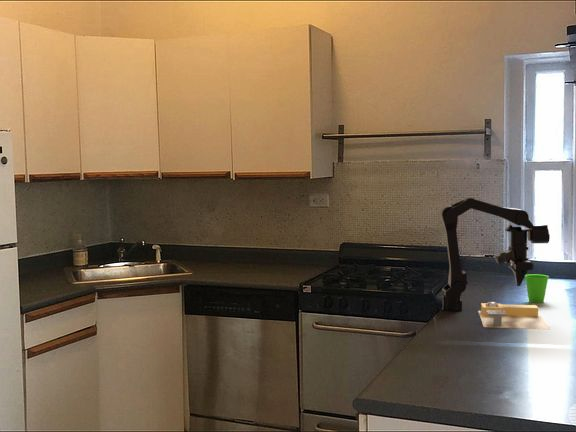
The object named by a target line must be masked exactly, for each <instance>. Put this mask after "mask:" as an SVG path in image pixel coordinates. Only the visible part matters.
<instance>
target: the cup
mask: <svg viewBox="0 0 576 432" xmlns="http://www.w3.org/2000/svg"><path fill="white" fill-rule="evenodd" d="M524 278H525V285H526V290H527V297H528V303H535V304H541V303H544V302H545V298H546V297H545V296H546V290H547V285H548V281H549V278H550V276H549V275H547V274H546V275H545V274H539V273H537V274H536V273H534V274H532V273H531V274H529V273H528V274H526V275H525V277H524Z"/></svg>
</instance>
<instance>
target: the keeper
mask: <svg viewBox="0 0 576 432" xmlns="http://www.w3.org/2000/svg"><path fill="white" fill-rule="evenodd" d="M486 312H487V315H488V316H493V326H496V327H501V323H502V317H501V316H507V314H506V312H505V311H500V310H486Z"/></svg>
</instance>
